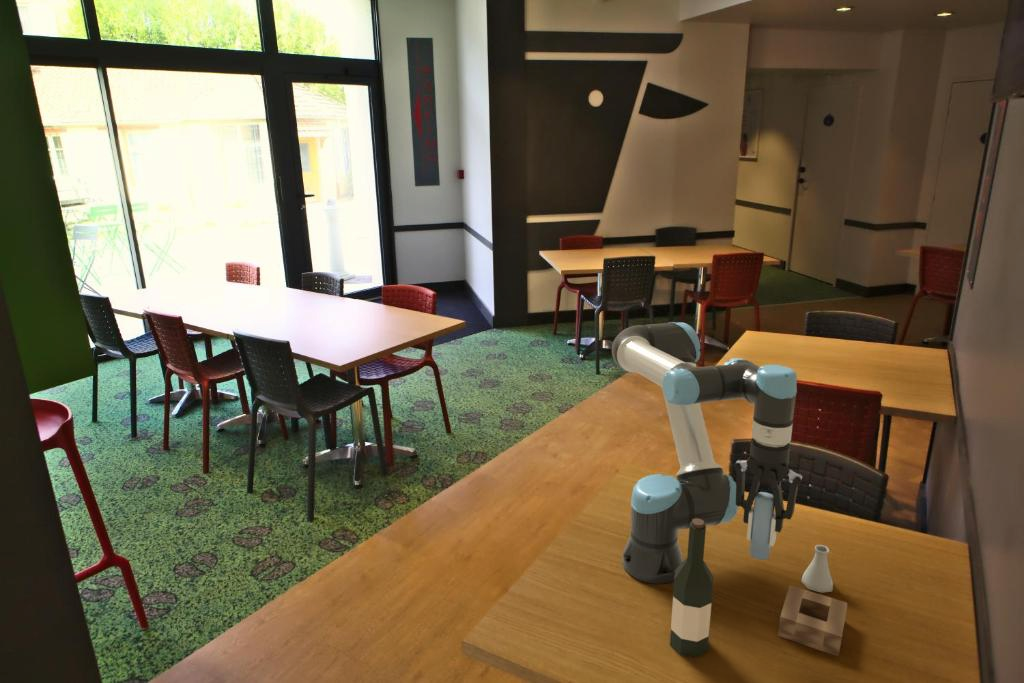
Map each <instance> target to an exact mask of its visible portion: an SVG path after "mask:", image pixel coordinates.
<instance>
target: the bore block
mask: <svg viewBox="0 0 1024 683" xmlns="http://www.w3.org/2000/svg"><path fill="white" fill-rule="evenodd" d="M847 608H848V602H846V601H843V600H840V599H836V598H833V597H830V596H826V595H823V594H820V593H816V592H815V591H811V590H808V589H804V588H800V587H798V586H797V587H796V586H793V585H789V587H788V588H787V593H786V596H785V599H784V603H783V605H782V610H781V613H780V617H779V623H778V631H777V637H781V638H783V639H786V640H789V641H792V642H795V643H798V644H800V645H804V646H807V647H809V648H812V649H815V650H818V651H820V652H824V653H826V654H830V655H832V656H835V657H840V651H841V650H840V649H841V646H842V639H843V634H844V629H845V628H844V627H845V622H846V615H847Z"/></svg>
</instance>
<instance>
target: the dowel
mask: <svg viewBox="0 0 1024 683" xmlns="http://www.w3.org/2000/svg"><path fill="white" fill-rule="evenodd" d="M753 507H754V512H753V523H752V534H751V540H750V544H749V555H750V556H751V557H752V558H754V559H755V560H757V561H758V560H759V561H765V560H768V559H770V554H771V546H769V542H770V532H771V522H772V517H773V515H774V513H775V506H774V499H773V493H770V492H766V491H760V492H758V491H757V493H756V494H755V499H754V502H753Z"/></svg>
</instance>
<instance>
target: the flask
mask: <svg viewBox="0 0 1024 683" xmlns="http://www.w3.org/2000/svg"><path fill="white" fill-rule="evenodd" d="M814 550H815V554H814V557H813V558H812V561H811V562H810V564H809V565H808V566H807V568H806V569H805V571H804V573H803V574H802V577H801V581H800V582H801V583H802V584H803V585H804V587H805V588H807V589H806V590H809V591H812V592H818V593H819V594H820V593H821V594H822V593H823V594H824V593H832V592H833V590H834V589H833V588H834V582H833V579H832V576H831V572H830V567H829V564H828V554H830V548H829V547H828V546H826V545H822V544H815V546H814Z"/></svg>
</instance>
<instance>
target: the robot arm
mask: <svg viewBox="0 0 1024 683" xmlns="http://www.w3.org/2000/svg"><path fill="white" fill-rule="evenodd" d="M700 350H701V342H700V339H699V335H698V334H697V332H696V331H695V329H694V328H693V327H692V326H691V325H689V324H688V323H685V322H674V321H669V322H664V323H654V324H653V323H651V324H642V325H641V324H638V325H632V326H629V327H627V328H625V329H623V330H622V331H620V332H619V333H618V335H617V336H616V337H615V338H614V340H613V342H612V346H611V354H612V359H613V360H614V362H615V363H616V365H617V366H618V367H620V368H621V369H623V370H624V371H626V372H628V373H629V372H630V373H637V374H639V375H640V376H642V377H644V378H645V379H647V380H649V381H651V382H653V383H654V384H655V385H658V386H660V388H661V389H662V390H661V391H662V394H663V397H664V403H665V407H666V411H667V415H668V418H669V424H670V427H671V432H672V436H673V440H674V445H675V448H676V450H675V451H676V454H677V457H678V462H679V468H680V469H679V470H678V471H677V473H676V474H675V476H676V477H674V476H672V475H668V474H666V475H663V474H662V473H658V474H650V475H646V476H644V477H642V478H640V479H639V480H637V482H636V483H635V484H634V486H633V489H632V493H631V494H632V495H631V498H630V505H631V509H630V510H631V511H630V535H629V538H628V539H627V542H626V544H625V546H624V549H623V552H622V559H621V560H622V561H621V562H622V566H623V568H624V570H625V572H627V573H628V575H630V576H631V577H632V578H634V579H636V580H638V581H642V582H645V583H649V584H655V585H656V584H657V585H660V584H668V583H671V582H674V577H675V570H676V569H677V568H678V567H679V565H680V564H681V563H682V562H683V561H684V559H683V555H682V554H683V553H682V551H681V547H680V544H679V541H678V539H679V537H678V536H679V531H680V530H686V529H689V528H690V522H692V519H695V518H698V519H702V520H703V521H704V524H706V527H707V526H708V527H709V526H717V525H718V526H719V525H720V524H724V523H728V522H731V521H732V520H733V519H734V518H735V517H736V514H737V513H738V509H739V507H741V508H742V509H743V519H742V521H743V523H744V524H747V530H746V531H747V532H746V540H748V541H751V534H752V523H753V512H754V501H755V494H756V493H758V491H759V490H758V489H759V488H760V483H768V484H770V486H771V490H772V495H773V499H774V515H773V517H772V522H771V532H770V542H769V546H770V547H774V545H775V542H776V541H777V540H776V539H777V533H781V531H782V529H783V525H784V519H787V520H792V517H793V515H794V512H795V507H796V499H797V494H798V488H799V485H800V484H801V481H802V479H803V477H804V475H803V474H802V473H801V472H798V473H797V472H795V471H794V470H792V469H791V465H790V463H789V461H790V460H789V459H790V452H791V444H790V442H791V441H792V433H793V424H794V423H793V422H794V421H793V420H794V415H795V414H794V413H795V405H796V397H797V393H798V387H797V384H798V382H797V379H798V376H797V372H796V371H795V370H794V369H792V368H791V367H789V366H784V365H781V364H764V365H761V366H759V365H757V364H755V363H754V362H752V361H749V360H748V359H745V358H741V357H733V358H730V359H729V360H726V361H725V362H724V363H723V364H722V365H710V366H709V365H707V366H701V367H699V366H698V367H697V362H698V361H699V360H700V357H701V351H700ZM738 399H743V400H745V401H747V402H749V403H750V404H752V405H753V418H752V429H751V437H752V438H751V439H750V447H749V448H750V450H749V457H748V458H747V460H742V459H737V460H736V462H734V465H733V468H734V470H735V473H736V477H735V478H736V481H734V478H733V477H732V476H731V475H728V474H725V473H724V469H723V466H721V465H720V464H719V463H717V462H715V459H714V455H713V451H712V447H711V444H710V438H709V436H708V435H709V434H708V431H707V427H706V423H705V419H704V415H703V412H702V411H703V410H702V408H701V404H704V403H709V402H710V403H711V402H721V401H729V400H738ZM748 468H749V470H750V472H751V474H752V475H753V479H752V482H751V486H750V487H749V488H750V489H749V492H748V494H747V497H746V499H745V490H746V488H745V486H746V471H747V470H748ZM787 476H788V477H789V478H788V481H789V483H790V486H789V488H788V497H787V502H786V507H785V508H786V509H785V508H784V498H783V497H784V496H783V491H782V480H783V479H785V478H786V477H787Z"/></svg>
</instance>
